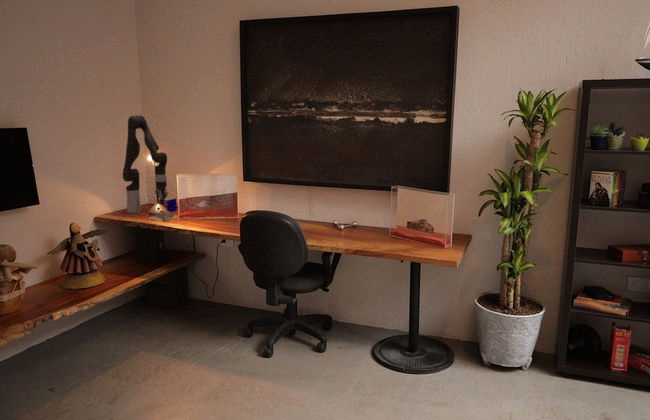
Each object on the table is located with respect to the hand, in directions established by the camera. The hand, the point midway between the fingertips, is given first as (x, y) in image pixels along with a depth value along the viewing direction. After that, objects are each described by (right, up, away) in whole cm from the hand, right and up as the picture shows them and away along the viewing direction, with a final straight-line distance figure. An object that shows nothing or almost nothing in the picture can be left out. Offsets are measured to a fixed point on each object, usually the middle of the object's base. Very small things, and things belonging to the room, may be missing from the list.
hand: (162, 203), depth 379 cm
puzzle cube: (-3, -6, +22) cm, 23 cm away
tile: (-2, -8, +3) cm, 9 cm away
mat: (+1, -10, 0) cm, 10 cm away
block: (+6, -12, -11) cm, 18 cm away
